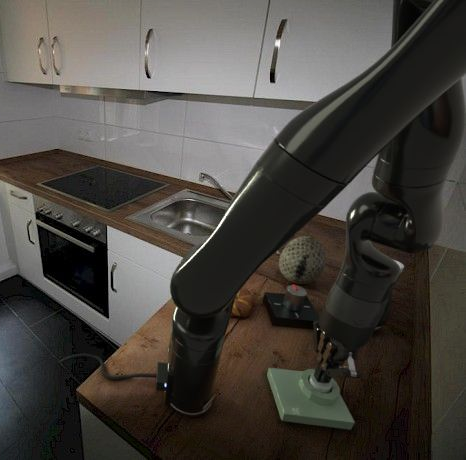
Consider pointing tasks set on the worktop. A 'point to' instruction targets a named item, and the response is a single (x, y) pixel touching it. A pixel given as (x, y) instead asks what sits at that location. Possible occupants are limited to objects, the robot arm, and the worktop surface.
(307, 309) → the lock panel
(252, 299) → the croissant
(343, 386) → the worktop surface
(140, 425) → the worktop surface
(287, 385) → the push button base
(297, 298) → the lock dial
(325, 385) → the push button
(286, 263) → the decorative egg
